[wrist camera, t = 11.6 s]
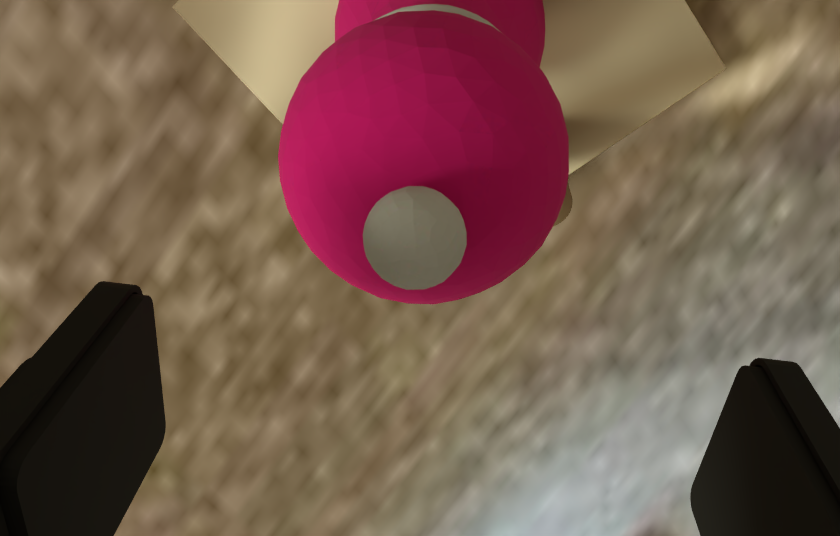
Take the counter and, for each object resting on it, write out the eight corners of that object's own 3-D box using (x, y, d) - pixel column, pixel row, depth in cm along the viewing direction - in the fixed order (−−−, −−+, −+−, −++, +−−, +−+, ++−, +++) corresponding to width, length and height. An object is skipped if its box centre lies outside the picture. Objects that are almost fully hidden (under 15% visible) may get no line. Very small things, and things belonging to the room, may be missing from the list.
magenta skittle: (491, -133, 26) (542, -65, 9) (561, 50, 29) (697, 356, 12) (319, -40, 28) (91, 161, 11) (402, 122, 31) (329, 474, 14)
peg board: (715, 58, 31) (781, 118, 24) (424, 257, 36) (415, 348, 30) (489, -309, 25) (497, -359, 18) (184, -1, 31) (109, 44, 24)
